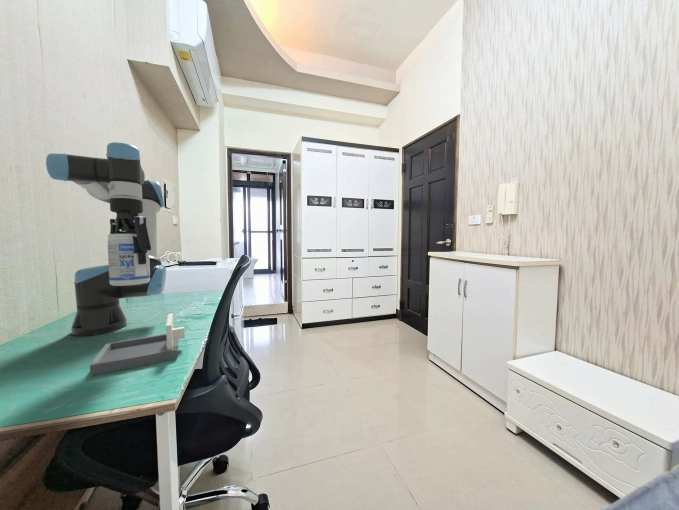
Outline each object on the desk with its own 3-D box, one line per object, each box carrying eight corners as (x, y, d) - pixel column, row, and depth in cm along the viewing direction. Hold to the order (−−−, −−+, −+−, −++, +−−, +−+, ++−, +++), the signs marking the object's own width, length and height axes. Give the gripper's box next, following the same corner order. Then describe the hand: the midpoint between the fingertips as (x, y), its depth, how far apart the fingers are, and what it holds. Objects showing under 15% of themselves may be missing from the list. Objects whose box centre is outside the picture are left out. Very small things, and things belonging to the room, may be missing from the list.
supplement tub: (123, 287, 73) (119, 233, 72) (101, 286, 76) (98, 234, 75) (158, 282, 82) (155, 234, 81) (137, 281, 85) (135, 235, 84)
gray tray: (107, 351, 78) (106, 343, 78) (178, 339, 87) (178, 331, 87) (90, 375, 65) (89, 365, 64) (177, 358, 74) (176, 349, 73)
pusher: (169, 338, 85) (168, 313, 84) (184, 335, 87) (183, 311, 87) (167, 354, 73) (165, 325, 73) (185, 350, 76) (183, 323, 75)
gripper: (90, 200, 79) (95, 275, 80) (134, 193, 70) (139, 278, 71) (120, 203, 86) (124, 272, 87) (163, 197, 77) (167, 274, 78)
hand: (130, 275), depth 79 cm, fingers closed on supplement tub, 9 cm apart
